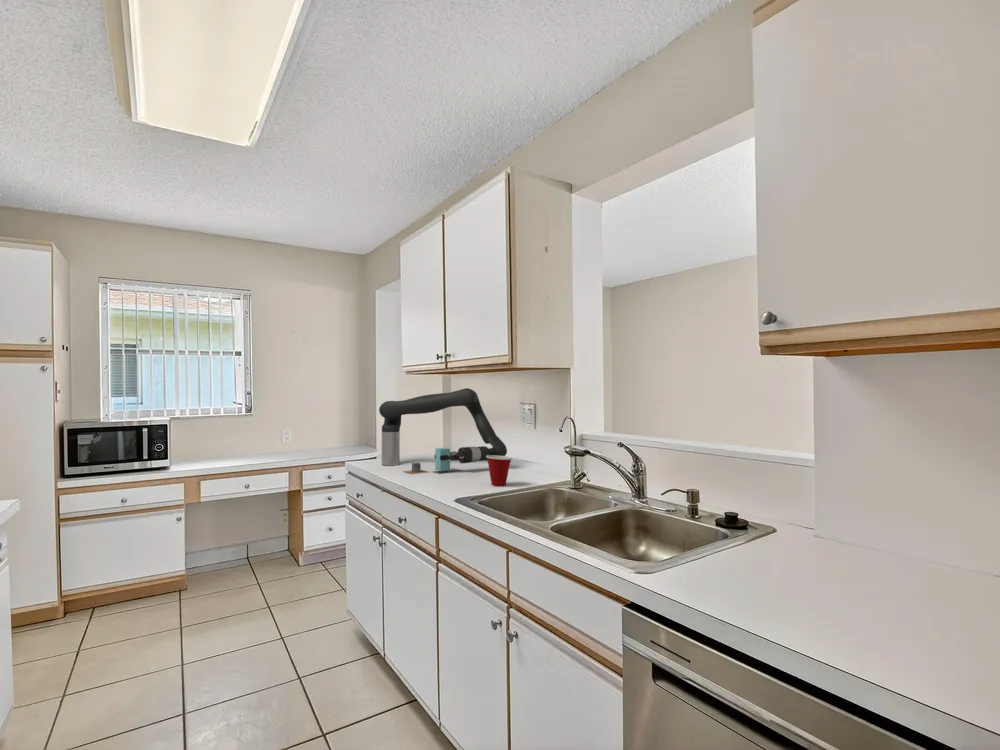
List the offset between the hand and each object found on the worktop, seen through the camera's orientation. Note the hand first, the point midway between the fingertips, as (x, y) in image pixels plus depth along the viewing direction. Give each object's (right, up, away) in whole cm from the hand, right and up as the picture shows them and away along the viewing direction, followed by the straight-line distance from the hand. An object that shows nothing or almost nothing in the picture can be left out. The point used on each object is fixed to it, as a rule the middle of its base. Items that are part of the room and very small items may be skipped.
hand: (437, 457), depth 240 cm
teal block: (+2, -6, +1) cm, 7 cm away
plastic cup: (+28, -7, -26) cm, 39 cm away
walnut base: (-10, -8, +2) cm, 13 cm away
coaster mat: (+2, -8, +1) cm, 8 cm away
